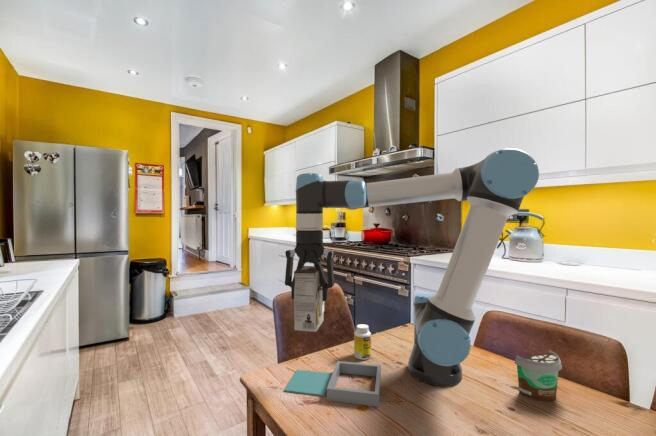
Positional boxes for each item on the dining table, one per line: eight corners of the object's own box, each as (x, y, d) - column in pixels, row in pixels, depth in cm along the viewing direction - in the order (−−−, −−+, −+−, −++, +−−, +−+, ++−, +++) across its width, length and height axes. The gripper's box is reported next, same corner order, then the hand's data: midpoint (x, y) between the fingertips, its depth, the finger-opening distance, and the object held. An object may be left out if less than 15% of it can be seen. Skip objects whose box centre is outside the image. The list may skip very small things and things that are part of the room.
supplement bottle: (363, 362, 97) (363, 330, 97) (350, 356, 101) (350, 326, 101) (374, 356, 101) (374, 325, 101) (361, 351, 105) (361, 321, 105)
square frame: (381, 375, 89) (381, 365, 89) (378, 406, 74) (378, 394, 74) (337, 370, 92) (337, 361, 92) (326, 400, 77) (326, 388, 77)
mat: (332, 374, 89) (332, 373, 89) (324, 396, 79) (324, 394, 79) (296, 371, 92) (296, 369, 92) (284, 391, 81) (284, 389, 81)
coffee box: (303, 319, 90) (303, 265, 90) (324, 320, 89) (324, 266, 89) (293, 330, 81) (293, 270, 81) (316, 332, 80) (316, 271, 80)
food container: (536, 408, 74) (536, 366, 74) (514, 393, 79) (514, 355, 79) (574, 399, 77) (574, 360, 77) (550, 386, 83) (550, 349, 83)
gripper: (345, 229, 87) (345, 309, 87) (281, 228, 91) (281, 305, 91) (341, 230, 79) (341, 318, 79) (271, 229, 83) (271, 313, 83)
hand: (309, 311), depth 85 cm, fingers closed on coffee box, 6 cm apart
